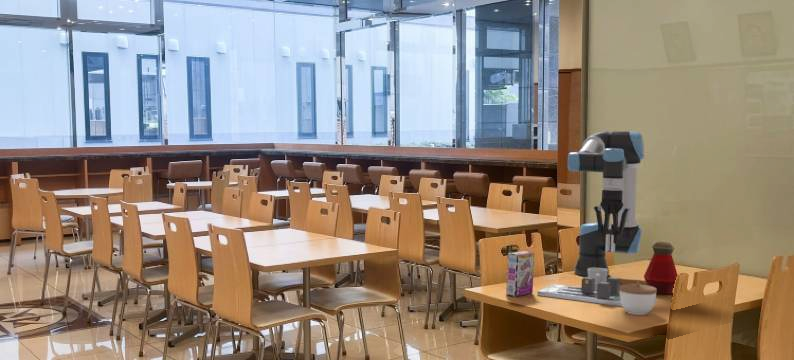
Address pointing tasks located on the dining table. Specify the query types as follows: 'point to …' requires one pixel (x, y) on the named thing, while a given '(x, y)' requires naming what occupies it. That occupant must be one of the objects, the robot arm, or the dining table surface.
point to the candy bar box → (520, 273)
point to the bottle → (661, 269)
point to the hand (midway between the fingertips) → (610, 251)
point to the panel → (578, 295)
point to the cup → (598, 275)
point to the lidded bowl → (637, 298)
